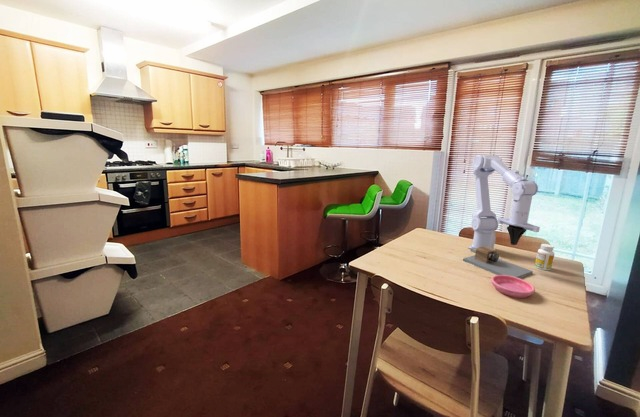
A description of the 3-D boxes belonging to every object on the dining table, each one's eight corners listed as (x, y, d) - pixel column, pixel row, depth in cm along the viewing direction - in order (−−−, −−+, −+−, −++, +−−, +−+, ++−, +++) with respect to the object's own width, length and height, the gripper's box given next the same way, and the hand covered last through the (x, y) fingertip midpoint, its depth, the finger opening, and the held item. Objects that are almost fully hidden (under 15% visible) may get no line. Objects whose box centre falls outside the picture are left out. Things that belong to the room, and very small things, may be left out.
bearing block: (483, 256, 125) (485, 245, 124) (494, 260, 121) (496, 249, 119) (474, 258, 122) (476, 248, 121) (485, 263, 118) (487, 252, 117)
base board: (482, 255, 129) (483, 253, 129) (532, 273, 112) (532, 271, 112) (462, 260, 122) (463, 258, 122) (512, 280, 105) (512, 278, 105)
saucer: (517, 304, 90) (519, 295, 90) (481, 285, 101) (483, 277, 101) (541, 296, 95) (543, 288, 94) (505, 280, 106) (506, 272, 106)
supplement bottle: (548, 266, 119) (553, 244, 117) (552, 271, 114) (558, 248, 112) (533, 264, 121) (537, 242, 119) (536, 269, 116) (541, 246, 114)
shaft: (474, 252, 127) (475, 244, 126) (498, 261, 118) (499, 253, 117) (468, 253, 125) (470, 246, 125) (492, 262, 116) (494, 254, 116)
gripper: (495, 208, 117) (490, 240, 120) (535, 217, 105) (528, 252, 108) (505, 207, 121) (499, 237, 124) (545, 215, 108) (537, 249, 111)
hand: (513, 244), depth 116 cm, fingers closed
